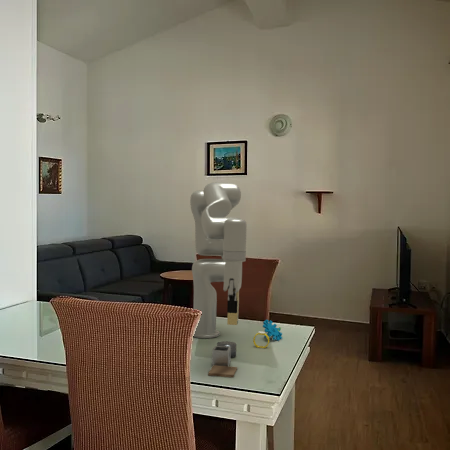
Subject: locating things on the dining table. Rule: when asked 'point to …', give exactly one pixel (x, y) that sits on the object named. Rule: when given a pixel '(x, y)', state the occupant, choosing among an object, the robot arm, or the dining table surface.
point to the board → (222, 371)
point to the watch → (261, 334)
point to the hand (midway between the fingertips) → (233, 311)
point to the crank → (223, 353)
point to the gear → (272, 330)
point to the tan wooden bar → (233, 314)
